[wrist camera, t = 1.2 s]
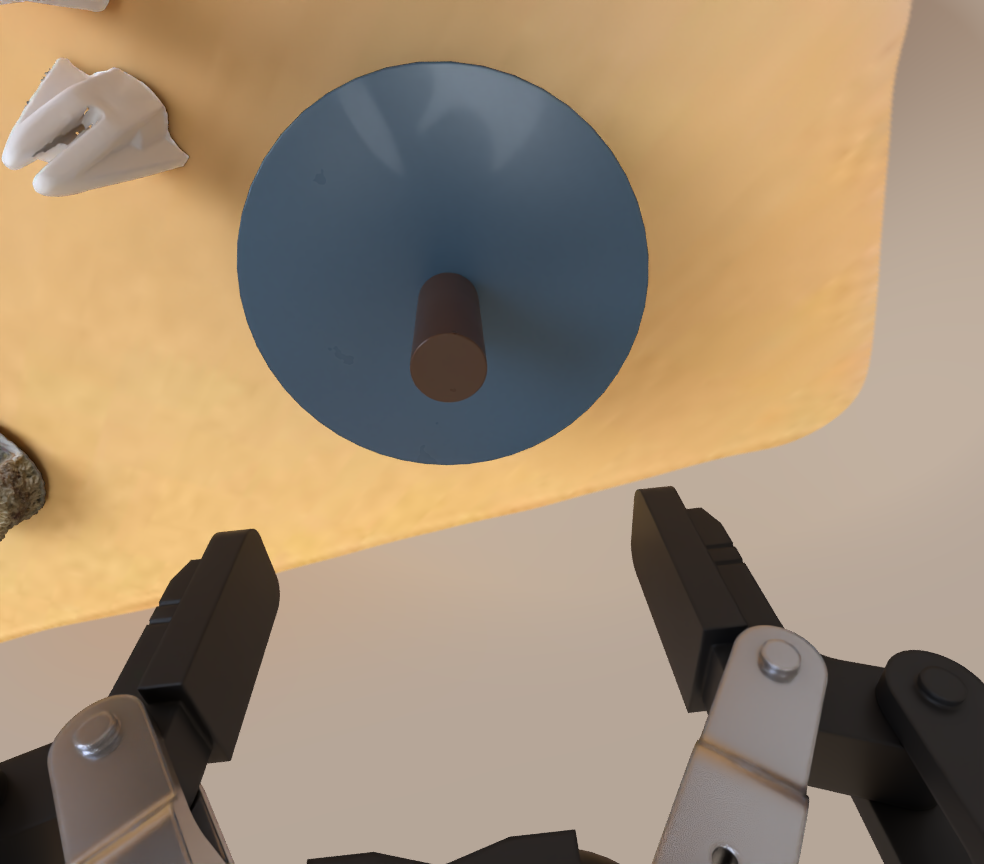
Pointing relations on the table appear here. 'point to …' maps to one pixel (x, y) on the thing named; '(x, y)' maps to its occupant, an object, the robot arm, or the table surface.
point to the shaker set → (108, 143)
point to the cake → (18, 486)
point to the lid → (442, 263)
